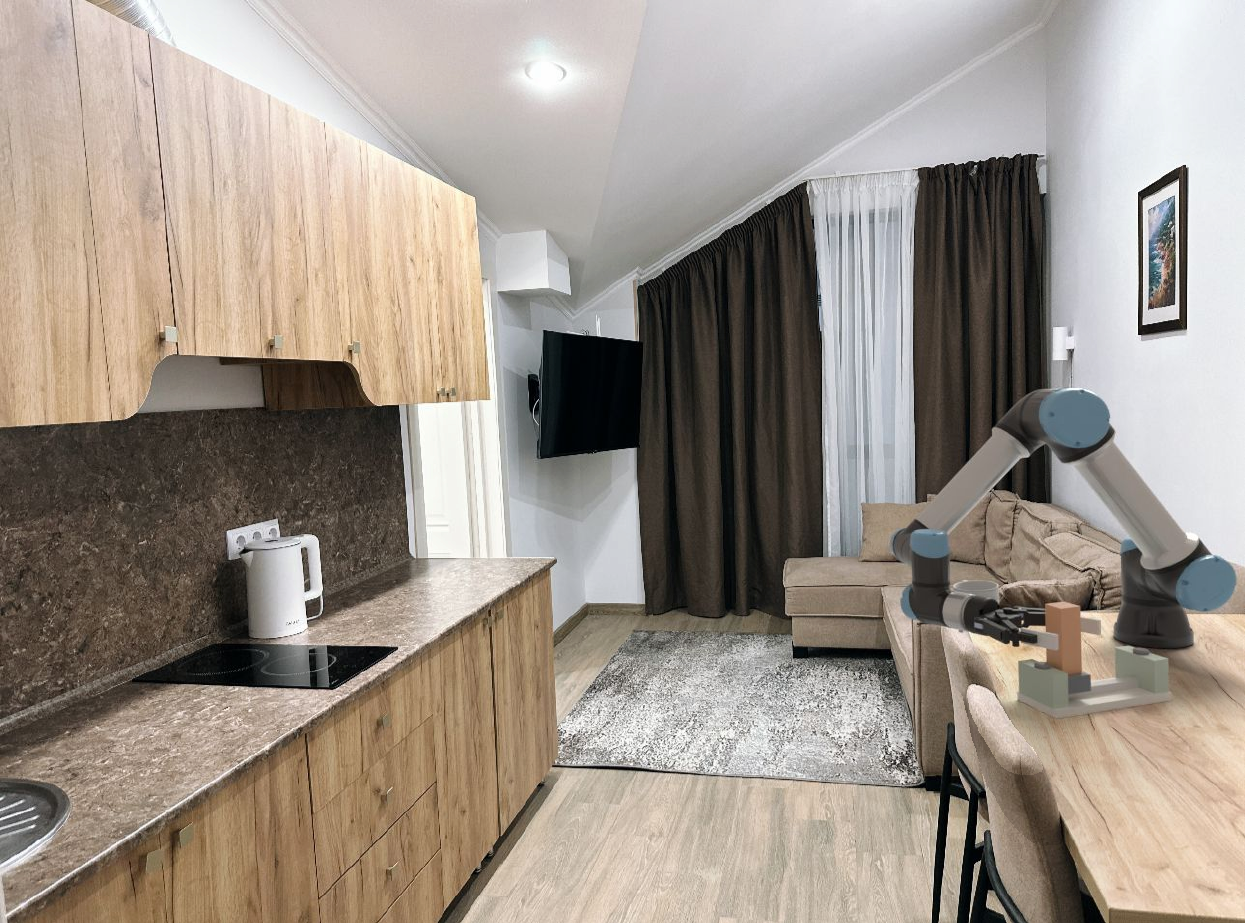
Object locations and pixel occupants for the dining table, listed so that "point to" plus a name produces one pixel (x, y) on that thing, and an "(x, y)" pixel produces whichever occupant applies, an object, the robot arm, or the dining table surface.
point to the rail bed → (1102, 698)
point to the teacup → (978, 588)
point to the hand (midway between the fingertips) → (1079, 634)
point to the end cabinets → (1129, 661)
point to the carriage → (1067, 644)
